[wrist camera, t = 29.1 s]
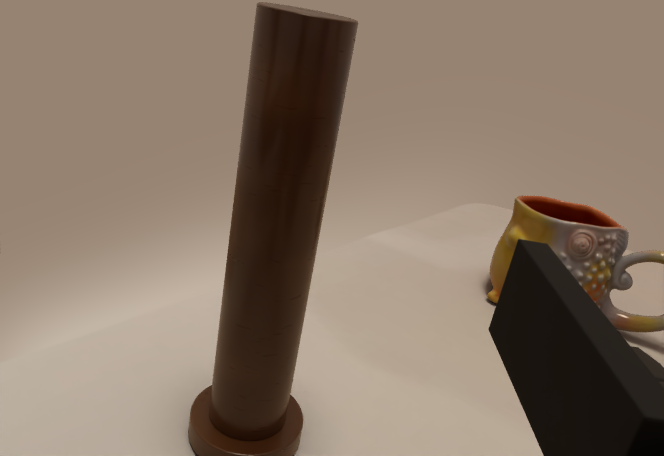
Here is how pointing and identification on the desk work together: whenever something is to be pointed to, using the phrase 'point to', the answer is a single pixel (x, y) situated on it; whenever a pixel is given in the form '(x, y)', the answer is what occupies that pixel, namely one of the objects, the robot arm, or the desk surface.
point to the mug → (577, 253)
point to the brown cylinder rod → (274, 230)
